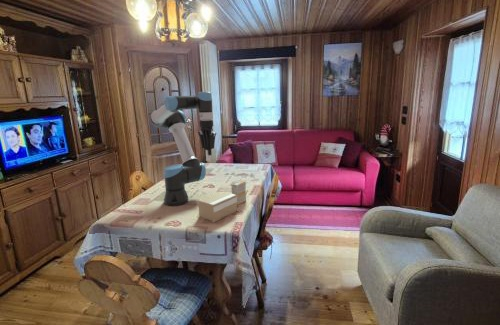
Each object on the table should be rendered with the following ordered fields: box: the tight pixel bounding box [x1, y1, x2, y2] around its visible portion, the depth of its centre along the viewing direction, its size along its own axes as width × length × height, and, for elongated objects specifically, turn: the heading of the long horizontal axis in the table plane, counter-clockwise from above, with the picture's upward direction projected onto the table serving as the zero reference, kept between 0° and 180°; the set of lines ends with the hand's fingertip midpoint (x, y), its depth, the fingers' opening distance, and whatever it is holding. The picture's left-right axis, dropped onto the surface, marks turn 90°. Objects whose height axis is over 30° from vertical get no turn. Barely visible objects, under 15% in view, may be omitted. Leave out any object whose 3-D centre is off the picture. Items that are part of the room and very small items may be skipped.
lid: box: [197, 191, 236, 206], centre depth 157 cm, size 12×18×1 cm, turn 141°
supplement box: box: [230, 180, 247, 206], centre depth 174 cm, size 8×5×13 cm, turn 141°
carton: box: [197, 197, 238, 223], centre depth 158 cm, size 12×18×9 cm
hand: (208, 160), depth 165 cm, fingers closed
